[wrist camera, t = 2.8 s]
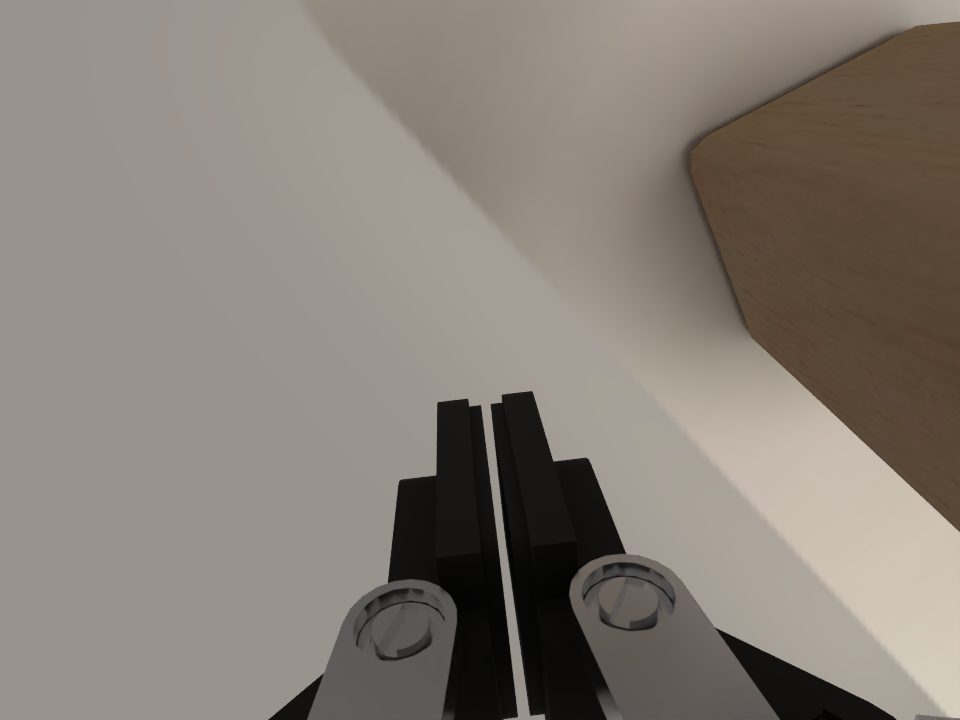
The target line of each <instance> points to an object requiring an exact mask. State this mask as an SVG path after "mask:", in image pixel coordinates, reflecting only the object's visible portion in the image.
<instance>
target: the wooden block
mask: <svg viewBox="0 0 960 720" xmlns="http://www.w3.org/2000/svg"><path fill="white" fill-rule="evenodd" d="M690 173H691V175H692V178H693V181H694V183H695V186H696V189H697V192H698V194H699V197H700V200H701V202H702V205H703V208H704V210H705V213H706V216H707V218H708V221H709V224H710V226H711V229H712V232H713V235H714V237H715V240H716V243H717V245H718V248H719V251H720V253H721V256H722V259H723V261H724V264H725V267H726V269H727V272H728V275H729V278H730V280H731V283H732V286H733V288H734V291H735V294H736V296H737V299H738V302H739V304H740V307H741V310H742V312H743V315H744V318H745V321H746V323H747V326H748V329H749V331H750V334H751V337H752V338H753V339H754V340H755V341H756V342H757V343H758V344H759V345H760V346H762V347H763V348H764V349H765V350H766V351H767V352H768V353H769V354H770V355H771V356H772V357H773V358H774V359H775V360H776V361H778V362H779V363H780V364H781V365H782V366H783V367H784V368H785V369H786V370H787V371H788V372H789V373H790V374H791V375H792V376H794V377H795V378H796V379H797V380H798V381H799V382H800V383H801V384H802V385H803V386H804V387H805V388H806V389H807V390H809V391H810V392H811V393H812V394H813V395H814V396H815V397H816V398H817V399H818V400H819V401H820V402H821V403H822V404H823V405H825V406H826V407H827V408H828V409H829V410H830V411H831V412H832V413H833V414H834V415H835V416H836V417H837V418H838V419H840V420H841V421H842V422H843V423H844V424H845V425H846V426H847V427H848V428H849V429H850V430H851V431H852V432H853V433H854V434H856V435H857V436H858V437H859V438H860V439H861V440H862V441H863V442H864V443H865V444H866V445H867V446H868V447H869V448H871V449H872V450H873V451H874V452H875V453H876V454H877V455H878V456H879V457H880V458H881V459H882V460H883V461H884V462H885V463H887V464H888V465H889V466H890V467H891V468H892V469H893V470H894V471H895V472H896V473H897V474H898V475H899V476H900V477H902V478H903V479H904V480H905V481H906V482H907V483H908V484H909V485H910V486H911V487H912V488H913V489H914V490H915V491H916V492H918V493H919V494H920V495H921V496H922V497H923V498H924V499H925V500H926V501H927V502H928V503H929V504H930V505H931V506H933V507H934V508H935V509H936V510H937V511H938V512H939V513H940V514H941V515H942V516H943V517H944V518H945V519H946V520H947V521H949V522H950V523H951V524H952V525H953V526H954V527H955V528H956V529H957V530H958V531H959V532H960V22H951V23H940V24H930V25H920V26H915V27H913V28H911V29H909V30H907V31H905V32H904V33H902V34H900V35H898V36H896V37H894V38H892V39H890V40H888V41H886V42H884V43H883V44H881V45H879V46H877V47H875V48H873V49H871V50H869V51H867V52H865V53H863V54H862V55H860V56H858V57H856V58H854V59H852V60H850V61H848V62H846V63H844V64H842V65H841V66H839V67H837V68H835V69H833V70H831V71H829V72H827V73H825V74H823V75H821V76H819V77H818V78H816V79H814V80H812V81H810V82H808V83H806V84H804V85H802V86H800V87H798V88H797V89H795V90H793V91H791V92H789V93H787V94H785V95H783V96H781V97H779V98H777V99H776V100H774V101H772V102H770V103H768V104H766V105H764V106H762V107H760V108H758V109H756V110H755V111H753V112H751V113H749V114H747V115H745V116H743V117H741V118H739V119H737V120H735V121H733V122H732V123H730V124H728V125H726V126H724V127H722V128H720V129H718V130H716V131H714V132H712V133H711V134H709V135H707V136H705V138H704V139H703V140H702V141H701V142H700V143H699V144H698V145H697V146H696V147H695V148H694V149H693V150H692V151H691V169H690Z"/></svg>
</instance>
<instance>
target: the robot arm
mask: <svg viewBox="0 0 960 720" xmlns="http://www.w3.org/2000/svg"><path fill="white" fill-rule="evenodd" d="M491 412H492V421H493V431H494V440H495V448H496V458H497V468H498V477H499V486H500V495H501V504H502V513H503V522H504V532H505V540H506V547H507V554H508V562H509V569H510V576H511V583H512V590H513V597H514V605H515V612H516V619H517V626H518V633H519V640H520V647H521V655H522V662H523V668H524V676H525V683H526V690H527V697H528V705H529V711H530V715H531V716H532V715H540V714H545V720H896V719H895V718H894V717H893V716H891V715H890V714H888V713H886V712H885V711H883V710H881V709H880V708H878V707H876V706H874V705H873V704H872V703H870V702H868V701H866V700H864V699H862V698H859V697H857V696H855V695H853V694H851V693H849V692H847V691H845V690H843V689H841V688H839V687H837V686H835V685H833V684H831V683H829V682H826V681H824V680H822V679H820V678H818V677H816V676H814V675H812V674H810V673H808V672H806V671H804V670H802V669H800V668H797V667H795V666H793V665H791V664H789V663H787V662H785V661H783V660H781V659H779V658H777V657H775V656H773V655H771V654H769V653H766V652H764V651H762V650H760V649H758V648H756V647H754V646H752V645H750V644H747V643H746V642H744V641H741V640H740V639H737V638H735V637H733V636H731V635H729V634H727V633H725V632H723V631H721V630H719V629H717V628H715V627H714V626H713V624H712V623H711V622H710V620H709V619H708V617H707V616H706V614H705V613H704V612H703V610H702V609H701V607H700V606H699V605H698V603H697V602H696V600H695V599H694V597H693V596H692V595H691V594H690V592H689V591H688V589H687V588H686V586H685V585H684V583H683V582H682V581H681V580H680V579H679V578H678V577H677V576H676V574H675V573H674V572H673V571H672V570H670V569H669V568H667V567H666V566H664V565H662V564H661V563H659V562H657V561H655V560H651V559H649V558H646V557H642V556H638V555H629V554H626V552H625V550H624V547H623V544H622V542H621V540H620V537H619V534H618V532H617V529H616V527H615V524H614V522H613V519H612V516H611V514H610V511H609V509H608V506H607V504H606V501H605V499H604V496H603V494H602V491H601V488H600V486H599V484H598V481H597V478H596V476H595V473H594V471H593V468H592V466H591V463H590V461H589V459H587V458H580V459H571V460H563V461H554V462H553V459H552V456H551V452H550V449H549V445H548V442H547V439H546V436H545V432H544V428H543V425H542V422H541V418H540V415H539V411H538V408H537V405H536V402H535V398H534V395H533V392H532V391H530V392H521V393H512V394H504V395H502V403H496V404H491ZM515 717H518V714H517V705H516V696H515V688H514V679H513V671H512V662H511V653H510V644H509V635H508V627H507V618H506V609H505V600H504V592H503V583H502V574H501V566H500V557H499V549H498V540H497V532H496V525H495V516H494V508H493V500H492V492H491V484H490V475H489V467H488V459H487V451H486V443H485V435H484V427H483V418H482V410H481V405H479V406H470V407H469V402H468V399H461V400H453V401H445V402H438V405H437V475H436V476H428V477H420V478H411V479H403V480H400V481H399V485H398V494H397V503H396V512H395V522H394V531H393V540H392V549H391V559H390V568H389V577H388V584H385V585H382V586H379V587H377V588H375V589H374V590H372V591H370V592H369V593H367V594H366V595H364V596H362V598H360V599H359V600H358V601H357V602H356V604H354V605H353V607H352V608H351V609H350V610H349V612H348V614H347V616H346V618H345V620H344V621H343V623H342V626H341V629H340V631H339V634H338V637H337V640H336V642H335V645H334V648H333V651H332V653H331V656H330V659H329V661H328V664H327V667H326V670H325V672H324V674H323V675H321V676H320V677H319V678H318V679H316V680H315V681H314V682H313V683H312V684H310V685H309V686H308V687H307V688H306V689H304V690H303V691H302V692H301V693H300V694H299V695H297V696H296V697H295V698H294V699H293V700H291V701H290V702H289V703H288V704H287V705H285V706H284V707H283V708H282V709H281V710H279V711H278V712H277V713H276V714H275V715H274V716H273V717H271V718H270V719H269V720H503V719H508V718H515ZM915 720H960V718H949V717H938V716H927V715H916V717H915Z"/></svg>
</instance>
